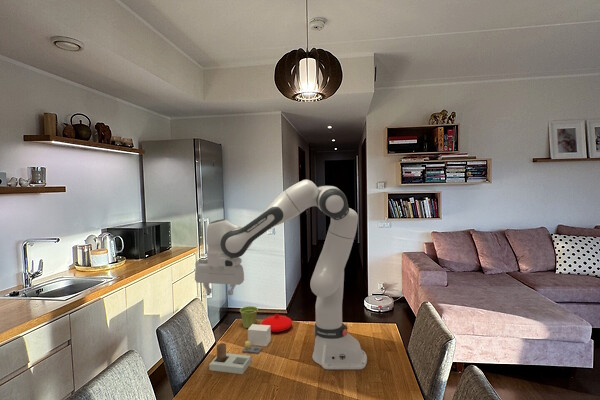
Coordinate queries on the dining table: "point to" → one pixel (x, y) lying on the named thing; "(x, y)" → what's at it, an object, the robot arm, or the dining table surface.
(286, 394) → the dining table surface
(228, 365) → the peg board
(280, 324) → the red domed lid
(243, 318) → the plant pot
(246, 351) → the plate
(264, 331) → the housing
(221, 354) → the peg
